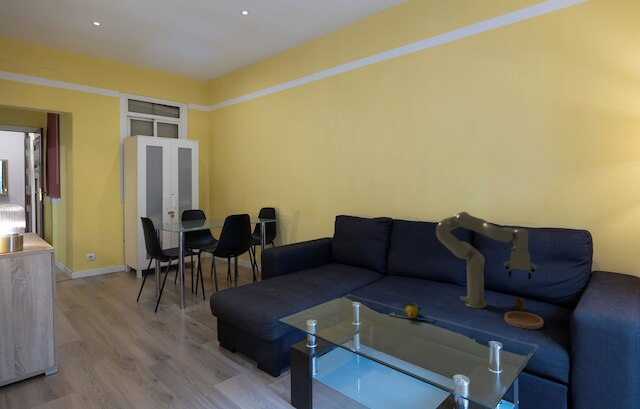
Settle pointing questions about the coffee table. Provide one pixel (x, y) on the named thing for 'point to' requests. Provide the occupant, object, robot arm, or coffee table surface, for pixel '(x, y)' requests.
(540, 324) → the round tray
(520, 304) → the walnut bead
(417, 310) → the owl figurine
